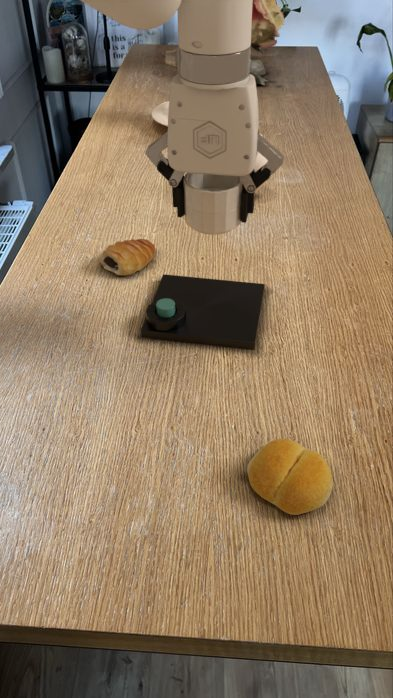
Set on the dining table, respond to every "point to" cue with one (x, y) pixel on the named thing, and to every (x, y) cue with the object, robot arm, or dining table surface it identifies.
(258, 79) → the rose bouquet
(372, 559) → the dining table surface
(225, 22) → the robot arm
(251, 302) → the scale
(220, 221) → the beige cup
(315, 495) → the bread roll
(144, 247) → the pastry
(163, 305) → the button
